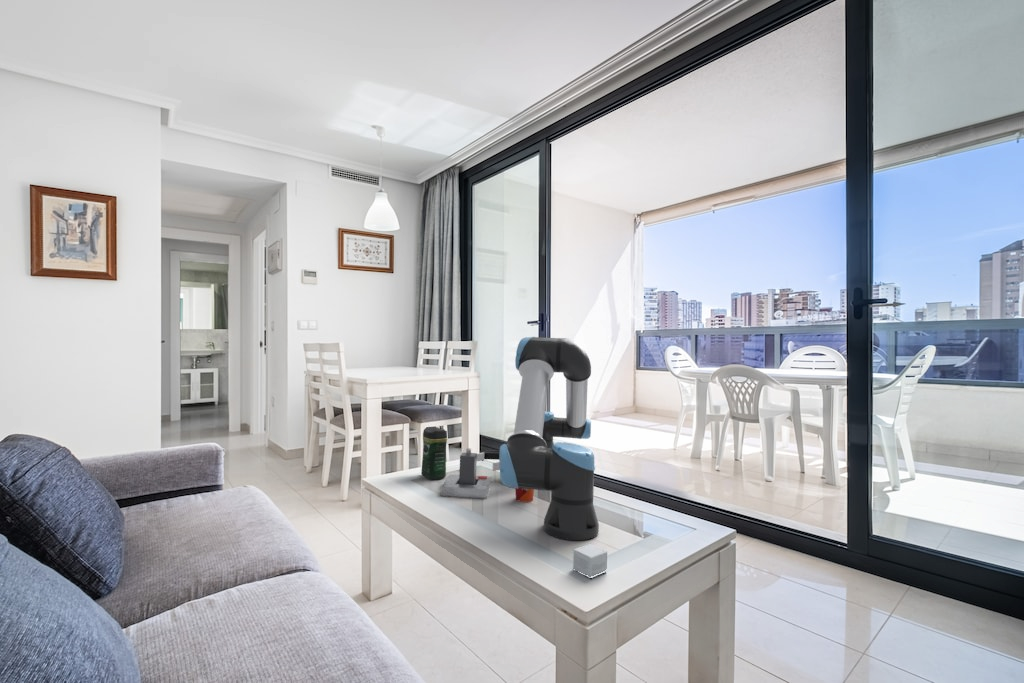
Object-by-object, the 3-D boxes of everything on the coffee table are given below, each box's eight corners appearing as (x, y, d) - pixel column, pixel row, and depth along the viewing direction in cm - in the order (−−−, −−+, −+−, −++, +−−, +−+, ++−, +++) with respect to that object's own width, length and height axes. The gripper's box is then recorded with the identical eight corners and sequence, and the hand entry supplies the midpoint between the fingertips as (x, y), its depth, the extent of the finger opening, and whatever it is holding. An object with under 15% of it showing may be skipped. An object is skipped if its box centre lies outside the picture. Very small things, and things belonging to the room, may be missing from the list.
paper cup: (528, 504, 154) (530, 460, 154) (508, 500, 158) (509, 457, 158) (540, 498, 160) (541, 456, 161) (520, 494, 165) (521, 452, 165)
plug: (473, 492, 164) (474, 450, 164) (458, 491, 164) (460, 449, 164) (475, 487, 169) (477, 447, 169) (461, 486, 169) (462, 446, 169)
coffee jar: (449, 478, 180) (450, 428, 180) (429, 481, 175) (431, 430, 175) (437, 472, 188) (439, 424, 188) (418, 474, 183) (420, 425, 183)
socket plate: (486, 498, 159) (486, 488, 159) (440, 495, 160) (441, 485, 160) (491, 485, 174) (491, 475, 174) (449, 482, 175) (450, 473, 175)
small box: (588, 563, 114) (589, 542, 114) (607, 573, 110) (608, 551, 110) (571, 570, 111) (572, 548, 111) (590, 580, 106) (591, 558, 106)
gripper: (548, 472, 175) (503, 481, 161) (503, 458, 194) (460, 465, 180) (548, 451, 175) (504, 459, 161) (504, 439, 194) (460, 445, 180)
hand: (480, 462), depth 170 cm, fingers open, 13 cm apart
